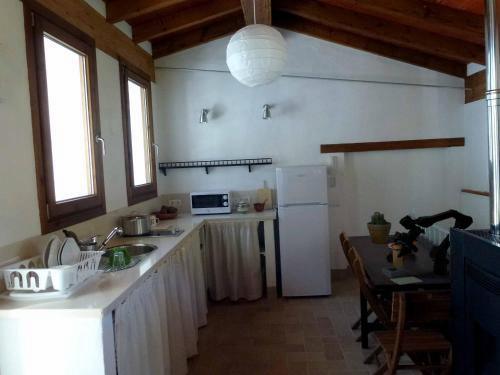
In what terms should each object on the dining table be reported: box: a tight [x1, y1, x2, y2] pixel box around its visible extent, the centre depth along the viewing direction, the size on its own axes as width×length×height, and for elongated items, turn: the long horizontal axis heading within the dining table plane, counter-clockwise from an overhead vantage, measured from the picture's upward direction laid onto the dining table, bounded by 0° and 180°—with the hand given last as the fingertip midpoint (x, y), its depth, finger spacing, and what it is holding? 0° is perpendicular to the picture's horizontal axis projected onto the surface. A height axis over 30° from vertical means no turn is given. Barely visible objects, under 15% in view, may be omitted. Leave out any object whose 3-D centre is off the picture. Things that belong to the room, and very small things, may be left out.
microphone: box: [385, 253, 393, 264], centre depth 246 cm, size 6×6×20 cm
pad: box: [389, 275, 423, 286], centre depth 214 cm, size 14×9×1 cm, turn 101°
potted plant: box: [366, 211, 392, 245], centre depth 306 cm, size 18×19×25 cm
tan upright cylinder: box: [391, 244, 404, 269], centre depth 220 cm, size 5×5×12 cm
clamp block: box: [381, 266, 408, 279], centre depth 225 cm, size 11×11×4 cm
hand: (395, 256), depth 220 cm, fingers closed on tan upright cylinder, 5 cm apart
